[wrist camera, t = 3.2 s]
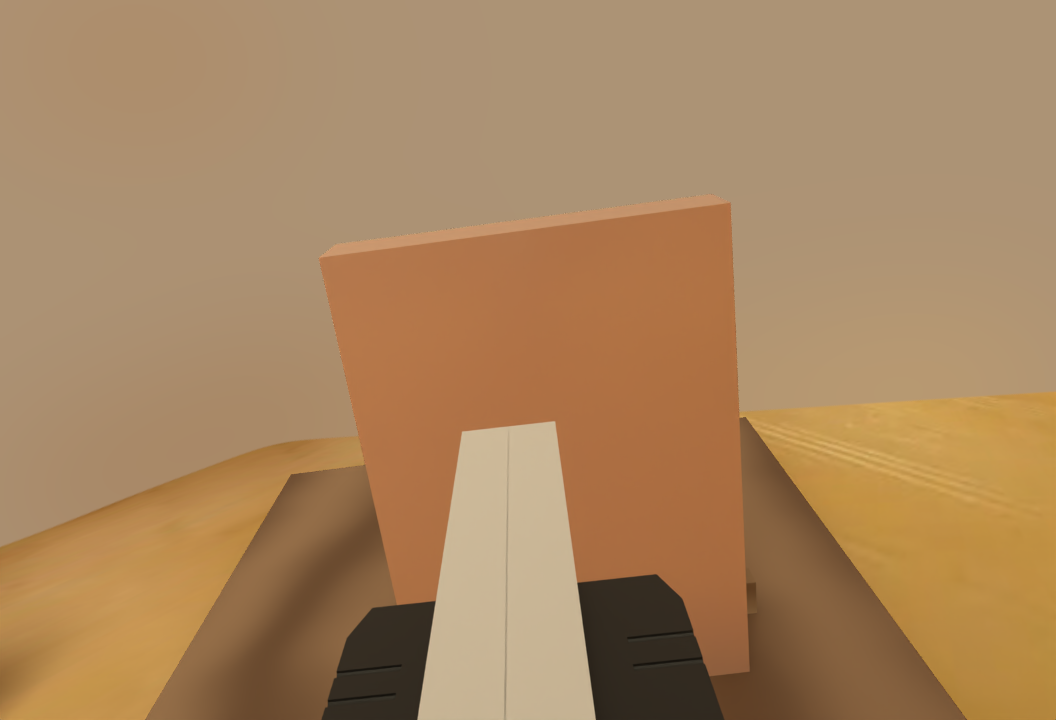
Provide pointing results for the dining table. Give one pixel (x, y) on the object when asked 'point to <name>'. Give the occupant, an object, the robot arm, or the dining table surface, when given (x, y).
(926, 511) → the dining table surface
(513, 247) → the tile
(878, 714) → the board
